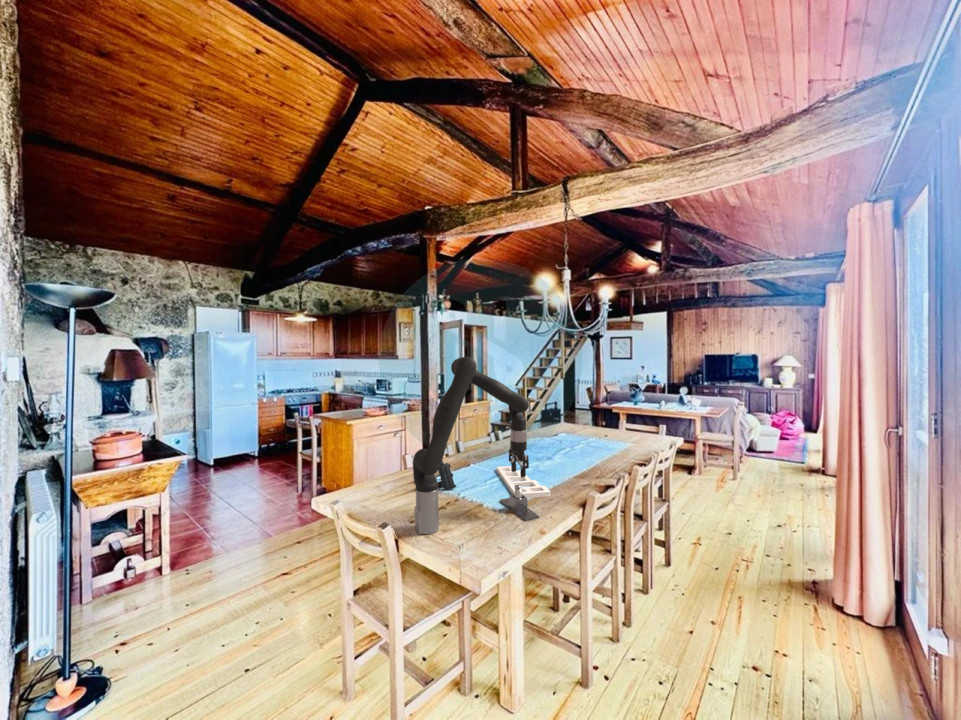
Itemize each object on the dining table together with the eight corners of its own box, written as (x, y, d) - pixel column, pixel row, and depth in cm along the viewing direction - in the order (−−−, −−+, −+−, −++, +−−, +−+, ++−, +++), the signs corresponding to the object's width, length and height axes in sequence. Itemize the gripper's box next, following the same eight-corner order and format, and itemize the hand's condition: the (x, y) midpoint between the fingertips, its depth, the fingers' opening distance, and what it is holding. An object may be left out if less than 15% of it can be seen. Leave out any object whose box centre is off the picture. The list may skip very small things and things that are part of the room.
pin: (517, 511, 186) (516, 487, 186) (513, 508, 189) (513, 485, 189) (523, 510, 188) (523, 486, 187) (519, 507, 190) (519, 484, 190)
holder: (496, 471, 246) (496, 466, 245) (525, 469, 249) (525, 465, 249) (515, 499, 201) (515, 494, 201) (550, 497, 204) (550, 491, 204)
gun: (419, 464, 212) (447, 455, 215) (428, 494, 214) (456, 485, 216) (420, 466, 210) (448, 457, 212) (429, 496, 211) (456, 487, 214)
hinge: (525, 521, 176) (525, 507, 176) (499, 501, 198) (499, 489, 197) (539, 518, 179) (539, 504, 179) (512, 499, 201) (512, 487, 200)
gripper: (504, 436, 192) (503, 471, 192) (519, 443, 179) (519, 480, 179) (517, 435, 195) (517, 469, 195) (533, 442, 182) (533, 477, 182)
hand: (518, 474), depth 187 cm, fingers open, 8 cm apart
